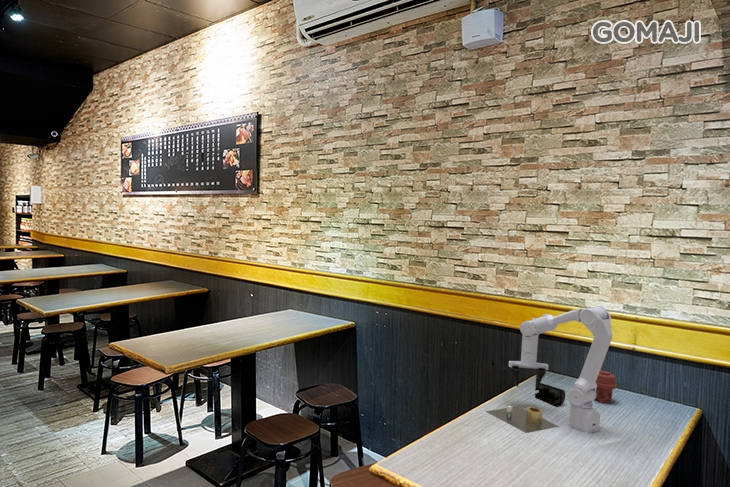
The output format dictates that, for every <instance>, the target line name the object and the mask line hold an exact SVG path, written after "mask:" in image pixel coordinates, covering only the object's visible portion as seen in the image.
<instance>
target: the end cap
mask: <svg viewBox="0 0 730 487" xmlns="http://www.w3.org/2000/svg"><path fill="white" fill-rule="evenodd" d="M534 390H535V392H536V393H534V398H535V399H536V400H539V401H541V402H543V403H545V404H548V405H551V406H553V407H555V408H558V407H561V406H562V405H563V404H564V402H565V400H566V391H565V390H564V389H562V388H559V387H555V386H552V385H550V384H545V383H543V382H540V385H539V388H536V386H535V388H534ZM537 391H538V392H537Z"/></svg>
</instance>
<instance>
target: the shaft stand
mask: <svg viewBox="0 0 730 487" xmlns="http://www.w3.org/2000/svg"><path fill="white" fill-rule="evenodd" d="M526 411H527V409H526V410H525V409H524V408H521V407H519V406H517V405H516V406H513V405H512V404H507V405H506V407H504V408H499V409H492V410H486V411H485V412H486V413H488V415H491V416H493V417H494V418H496V419H499V420H500V421H502V422H505V423H506V424H508V425H510V426H512V427H514V428H516V429H517V430H519V431H522V432H523V433H525V434H529V433H533V432H534V433H535V432H539V431H544V430H548V429H549V430H550V429H554V428H559V427H560V426H559V425H558V424H555V423H553V422H551V421H549V420H546V419H545V418H543V417H542V423H540V424H534V423H530V422H528V421H526Z"/></svg>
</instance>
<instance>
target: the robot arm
mask: <svg viewBox="0 0 730 487" xmlns="http://www.w3.org/2000/svg"><path fill="white" fill-rule="evenodd" d="M611 320H612V316H611V315H610V313H609V311H608V310H607V309H606V308H605V307H603V306H601V305H597V306H592V307H584V308H576V309H572V310H570V311H567V312H564V313H562V314H558V315H552V314H548V313H544V314H542V316H540V317H533V318H531V320H525V321H523V322H522V323H521V324H520V327H519V330H520V333H521V335H522V336H521V338H522V339H521V351H520V352H521V354H520V360H509V361H508V367H509V368H511V371H512V375H513V377H514V383H515V387H519V383H520V382H519V379H520V377H519V376H520V373H521V370H520V368H524V369H534V370H535V371H536V372H535V376H536V377H535V387H536V388H539V385H540V383H542V380H543V378H544V377H545V375H546V374H547V371H549V364H547V363H543V362H542V363H541V362H537V359H538V342H539V335H540V334H543V333H547V332H550V331H553V330H554V331H555V330H556V329H557V327H558V325H562V324H566V323H569V322H572V321H573V322H574V321H575V322H577V323H581V324H583V325H584V327H586V328H587V329H588V330H589V331H590V332H591V334H592V336H593V339H592V342H591V345H590V348H589V350H588V353H587V356H586V359H585V360H584V361H585V362H584V364H583V366H582V370H581V372H580V374H579V377H578V378H577V379H576V380H575V382H574V384H573V386H572V387H571V388H570V389H569V390H568V391H567V399H568V401H569V403H570V404H569V413H568V414H569V418H568V425H569V426H570V427H571V428H574V429H577V430H579V431H582V432H584V433H586V434H590V433H596V432H599V431H600V423H601V415H600V413H599V411H598V410H596V409H594V405H593V402H594V401H595V400H597V399H596V388H597V384H596V380H597V377H598V374H599V372H600V371H601V370H602V369H601V368H602V366H603V365H604V364H603V363H604V361H605V358H606V356H607V353H608V351H609V347H610V345H611V342H612V340H613V330H612V324H611Z"/></svg>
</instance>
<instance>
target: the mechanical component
mask: <svg viewBox="0 0 730 487" xmlns="http://www.w3.org/2000/svg"><path fill="white" fill-rule="evenodd" d="M596 384H597V388H596V399H595V400H598V403H601V404H603V403H611V402H612V399H613V390H615V389H616V388H618V383H617V382H616V375H614V374H613V373H610V372H609V371H606V370H600V372H599V374H598V377H597V380H596Z"/></svg>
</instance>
